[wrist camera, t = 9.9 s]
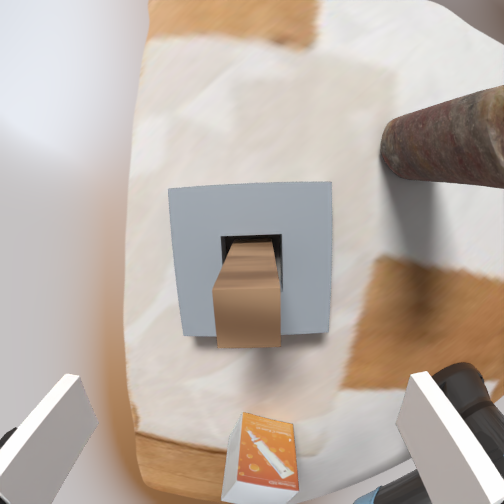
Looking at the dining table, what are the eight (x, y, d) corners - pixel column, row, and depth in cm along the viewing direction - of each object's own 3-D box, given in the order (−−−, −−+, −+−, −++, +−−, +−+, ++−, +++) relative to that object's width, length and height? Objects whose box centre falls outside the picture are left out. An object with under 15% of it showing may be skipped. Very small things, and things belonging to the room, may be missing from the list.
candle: (414, 193, 31) (543, 215, 12) (365, 160, 31) (483, 143, 11) (437, 141, 30) (562, 126, 10) (391, 106, 29) (505, 52, 10)
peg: (272, 272, 34) (280, 346, 18) (236, 274, 34) (217, 348, 19) (271, 237, 33) (280, 287, 18) (234, 239, 33) (211, 289, 18)
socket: (322, 318, 35) (328, 332, 32) (190, 322, 36) (183, 335, 32) (324, 181, 32) (331, 181, 28) (177, 187, 32) (167, 188, 29)
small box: (293, 422, 39) (301, 491, 27) (276, 446, 41) (279, 511, 28) (241, 409, 39) (235, 481, 26) (228, 435, 40) (219, 501, 28)
